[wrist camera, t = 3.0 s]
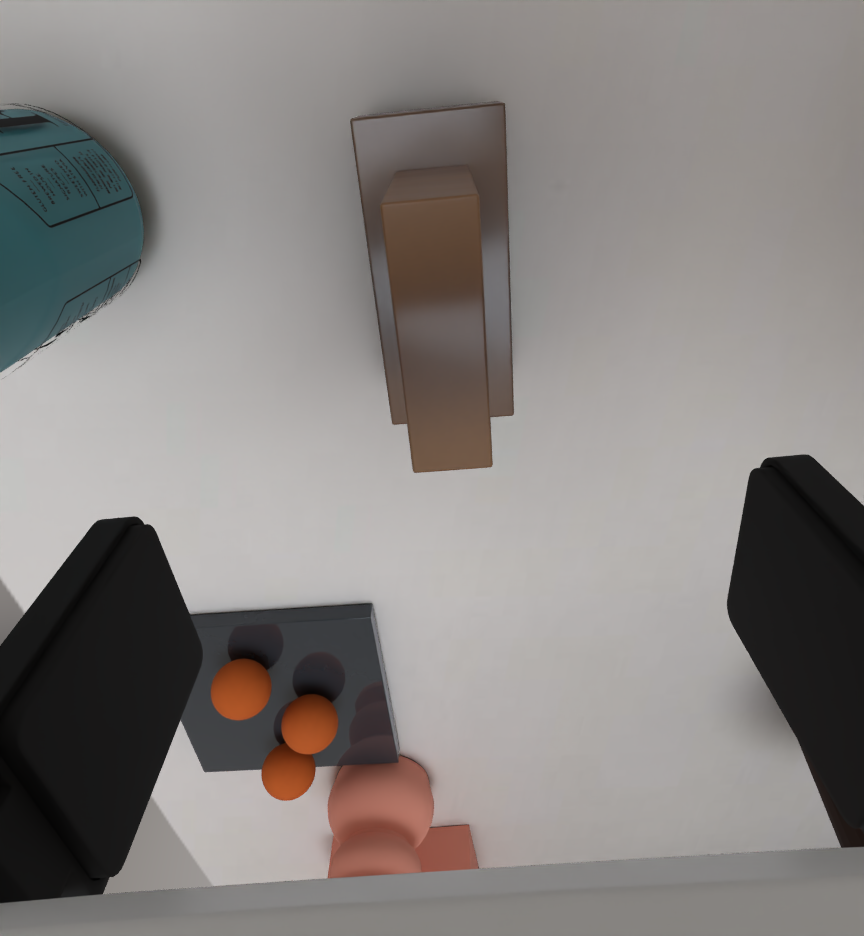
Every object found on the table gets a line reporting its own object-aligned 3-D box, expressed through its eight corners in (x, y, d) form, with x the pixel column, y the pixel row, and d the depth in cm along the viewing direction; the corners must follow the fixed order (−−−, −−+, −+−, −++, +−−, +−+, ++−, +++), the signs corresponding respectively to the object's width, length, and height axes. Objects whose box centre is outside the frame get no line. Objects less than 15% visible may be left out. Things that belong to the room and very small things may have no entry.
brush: (362, 113, 21) (314, 131, 13) (495, 99, 21) (531, 108, 13) (397, 386, 27) (379, 520, 18) (505, 377, 26) (535, 510, 18)
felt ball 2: (282, 683, 35) (270, 731, 32) (336, 680, 34) (328, 728, 32) (293, 719, 36) (282, 768, 34) (345, 716, 36) (338, 765, 33)
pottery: (484, 892, 48) (494, 1064, 39) (361, 900, 49) (345, 1071, 40) (450, 742, 39) (453, 925, 30) (299, 756, 40) (262, 938, 31)
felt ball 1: (213, 647, 33) (195, 695, 31) (270, 644, 33) (256, 691, 31) (228, 686, 35) (212, 734, 32) (282, 683, 35) (270, 731, 32)
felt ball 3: (263, 732, 37) (249, 781, 34) (314, 729, 37) (304, 778, 34) (274, 764, 38) (262, 812, 36) (323, 761, 38) (315, 810, 36)
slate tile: (147, 617, 34) (140, 631, 33) (372, 603, 33) (370, 617, 32) (209, 757, 40) (204, 772, 39) (399, 748, 39) (398, 763, 38)
